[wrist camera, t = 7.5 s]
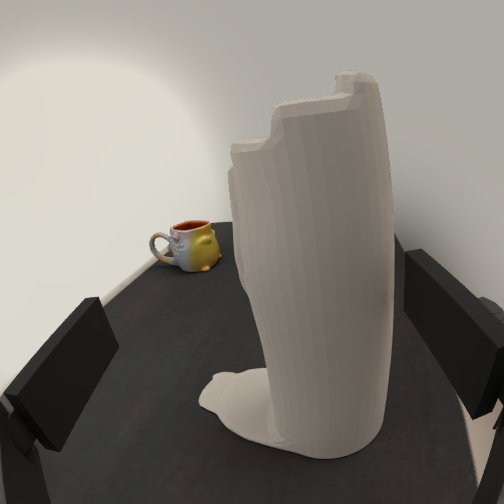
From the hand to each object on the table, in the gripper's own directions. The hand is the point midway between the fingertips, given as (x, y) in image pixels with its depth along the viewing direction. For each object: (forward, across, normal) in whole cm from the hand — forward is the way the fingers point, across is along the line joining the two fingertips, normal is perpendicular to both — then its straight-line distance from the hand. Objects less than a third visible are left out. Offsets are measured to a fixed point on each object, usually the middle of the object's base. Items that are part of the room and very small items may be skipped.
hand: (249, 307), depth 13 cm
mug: (+36, -14, -11) cm, 40 cm away
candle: (+4, 0, -11) cm, 12 cm away
